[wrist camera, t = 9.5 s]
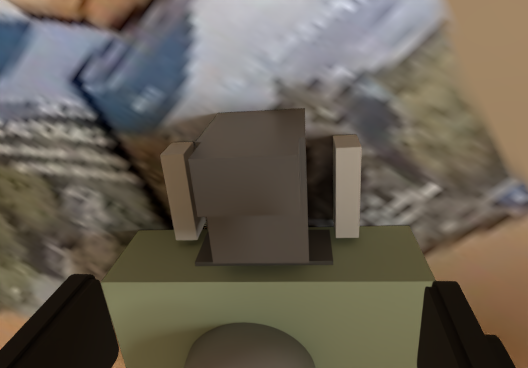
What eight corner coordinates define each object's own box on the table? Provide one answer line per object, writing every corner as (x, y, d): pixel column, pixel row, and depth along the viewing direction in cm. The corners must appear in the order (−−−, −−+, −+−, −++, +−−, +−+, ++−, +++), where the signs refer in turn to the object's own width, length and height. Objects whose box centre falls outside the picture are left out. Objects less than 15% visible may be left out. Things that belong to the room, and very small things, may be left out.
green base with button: (417, 131, 20) (511, 235, 11) (397, 355, 26) (447, 538, 17) (118, 144, 22) (-12, 243, 13) (166, 351, 28) (102, 515, 19)
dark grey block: (304, 108, 20) (305, 154, 14) (307, 211, 23) (309, 291, 16) (218, 112, 21) (181, 159, 14) (230, 213, 23) (203, 291, 17)
